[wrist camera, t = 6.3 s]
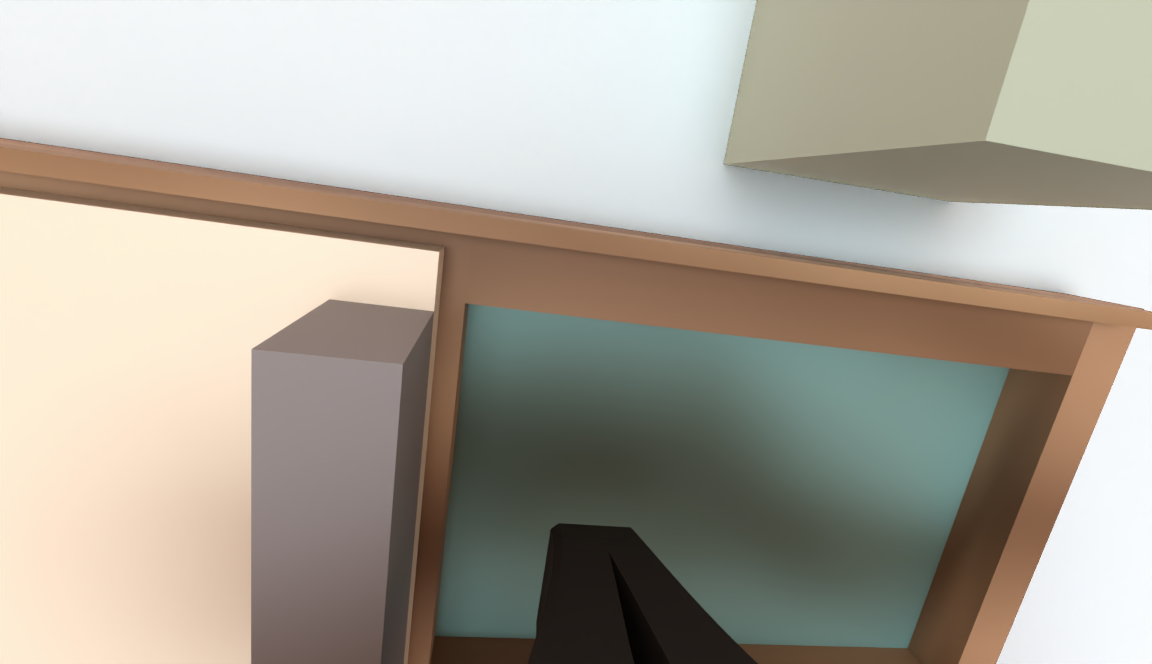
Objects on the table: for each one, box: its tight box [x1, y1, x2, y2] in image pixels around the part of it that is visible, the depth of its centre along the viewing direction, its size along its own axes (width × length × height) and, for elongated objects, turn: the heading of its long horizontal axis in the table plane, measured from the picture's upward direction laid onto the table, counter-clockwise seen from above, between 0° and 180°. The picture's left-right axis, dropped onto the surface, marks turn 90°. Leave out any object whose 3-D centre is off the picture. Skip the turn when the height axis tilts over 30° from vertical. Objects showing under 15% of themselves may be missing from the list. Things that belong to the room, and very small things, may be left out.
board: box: [0, 138, 1152, 664], centre depth 10 cm, size 11×27×2 cm, turn 81°
